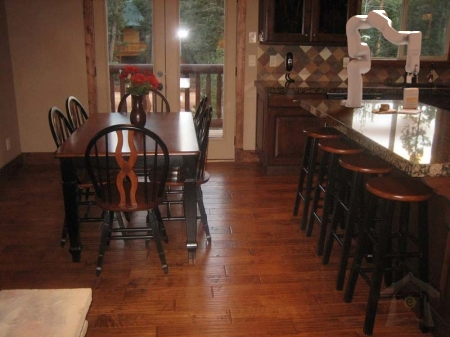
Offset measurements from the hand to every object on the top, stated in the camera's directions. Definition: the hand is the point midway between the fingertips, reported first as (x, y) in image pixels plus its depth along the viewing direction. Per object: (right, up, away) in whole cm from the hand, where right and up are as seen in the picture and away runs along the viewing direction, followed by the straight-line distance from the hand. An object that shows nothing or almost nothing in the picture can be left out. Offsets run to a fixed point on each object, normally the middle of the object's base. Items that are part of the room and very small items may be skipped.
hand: (411, 82), depth 283 cm
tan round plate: (-13, -16, +11) cm, 24 cm away
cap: (0, 0, 0) cm, 0 cm away
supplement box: (+7, -13, +20) cm, 25 cm away
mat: (+1, -17, +5) cm, 18 cm away
